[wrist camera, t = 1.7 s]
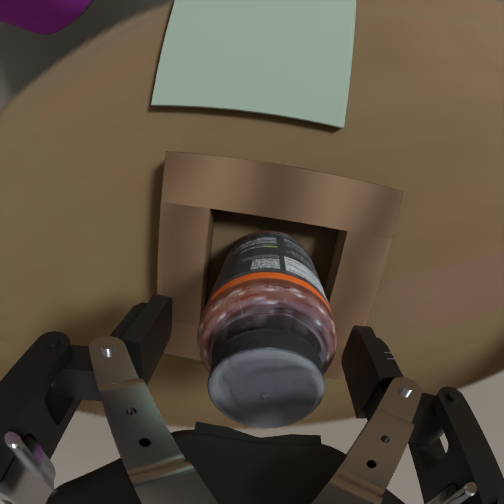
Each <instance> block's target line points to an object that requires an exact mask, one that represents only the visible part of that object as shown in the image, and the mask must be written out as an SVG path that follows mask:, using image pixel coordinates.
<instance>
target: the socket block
mask: <svg viewBox="0 0 504 504" xmlns="http://www.w3.org/2000/svg"><path fill="white" fill-rule="evenodd" d="M402 196H403V191H399V190H396V189H393V188H389V187H385V186H381V185H377V184H373V183H369V182H365V181H361V180H356V179H352V178H347V177H343V176H338V175H333V174H329V173H324V172H319V171H314V170H308V169H303V168H297V167H292V166H286V165H280V164H274V163H267V162H261V161H254V160H247V159H239V158H232V157H223V156H215V155H206V154H196V153H185V152H168V151H166V155H165V164H164V174H163V184H162V196H161V209H160V224H159V243H158V274H157V294H159V295H164V296H168V297H172V301H173V303H172V332H171V336H170V339H169V342H168V344H167V346H166V348H165V350H164V352H163V353H166V354H170V355H175V356H179V357H184V358H188V359H193V360H198V361H202V360H201V357H200V354H199V350H198V343H197V333H198V327H199V323H200V320H201V317H202V314H203V311H204V309H205V306H206V298H207V287H208V276H209V266H210V256H211V246H212V237H213V228H214V219H215V211H216V209H217V210H224V211H231V212H237V213H244V214H251V215H257V216H263V217H270V218H276V219H282V220H288V221H294V222H300V223H306V224H311V225H317V226H323V227H328V228H334V229H339V231H338V235H337V240H336V244H335V248H334V253H333V257H332V261H331V265H330V269H329V273H328V277H327V281H326V285H325V289H324V293H325V296H326V298H327V301H328V304H329V306H330V309H331V312H332V315H333V318H334V321H335V325H336V330H337V348H336V353H335V355H334V358H333V361H332V363H331V364H330V367H329V368H328V370H327V371H326V372H325V374H324V375H323V376H324V378H332V379H344V377H345V375H344V372H343V368H342V364H341V360H342V354H343V351H344V349H345V346H346V343H347V341H348V338H349V335H350V333H351V330H352V328H353V326H355V325H358V326H365V325H366V323H367V320H368V317H369V314H370V311H371V309H372V306H373V303H374V300H375V297H376V294H377V291H378V287H379V284H380V281H381V278H382V275H383V271H384V268H385V264H386V261H387V257H388V254H389V250H390V246H391V243H392V239H393V235H394V231H395V227H396V223H397V218H398V214H399V210H400V205H401V200H402Z"/></svg>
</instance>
